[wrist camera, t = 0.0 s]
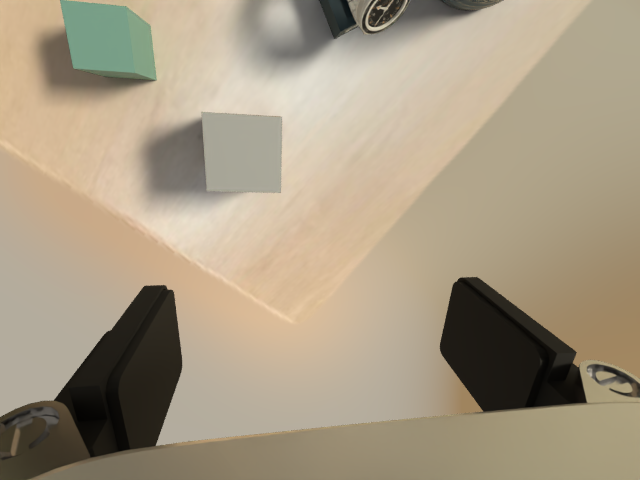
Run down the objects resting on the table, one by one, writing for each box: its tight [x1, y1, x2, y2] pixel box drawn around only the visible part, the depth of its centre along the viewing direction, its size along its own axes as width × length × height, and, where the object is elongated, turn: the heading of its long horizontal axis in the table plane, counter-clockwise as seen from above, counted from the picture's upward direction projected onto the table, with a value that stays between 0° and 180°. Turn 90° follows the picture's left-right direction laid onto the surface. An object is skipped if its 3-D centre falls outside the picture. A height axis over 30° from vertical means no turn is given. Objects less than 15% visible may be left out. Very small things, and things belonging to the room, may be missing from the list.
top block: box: [201, 112, 282, 193], centre depth 32 cm, size 7×7×4 cm
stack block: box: [60, 0, 157, 80], centre depth 30 cm, size 5×5×6 cm
